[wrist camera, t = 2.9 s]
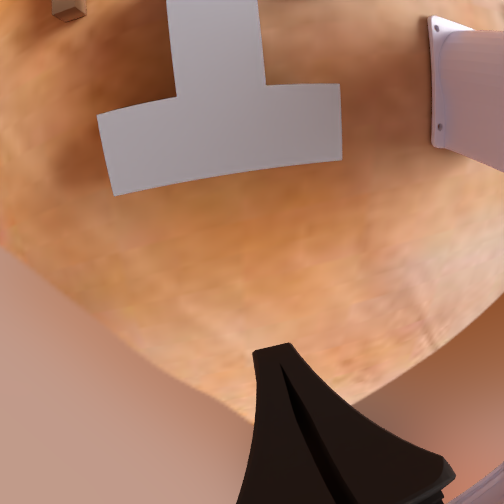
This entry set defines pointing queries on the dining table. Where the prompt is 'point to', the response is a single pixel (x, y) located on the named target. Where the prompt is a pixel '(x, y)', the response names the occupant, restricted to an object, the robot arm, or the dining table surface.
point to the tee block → (219, 108)
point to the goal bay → (68, 9)
